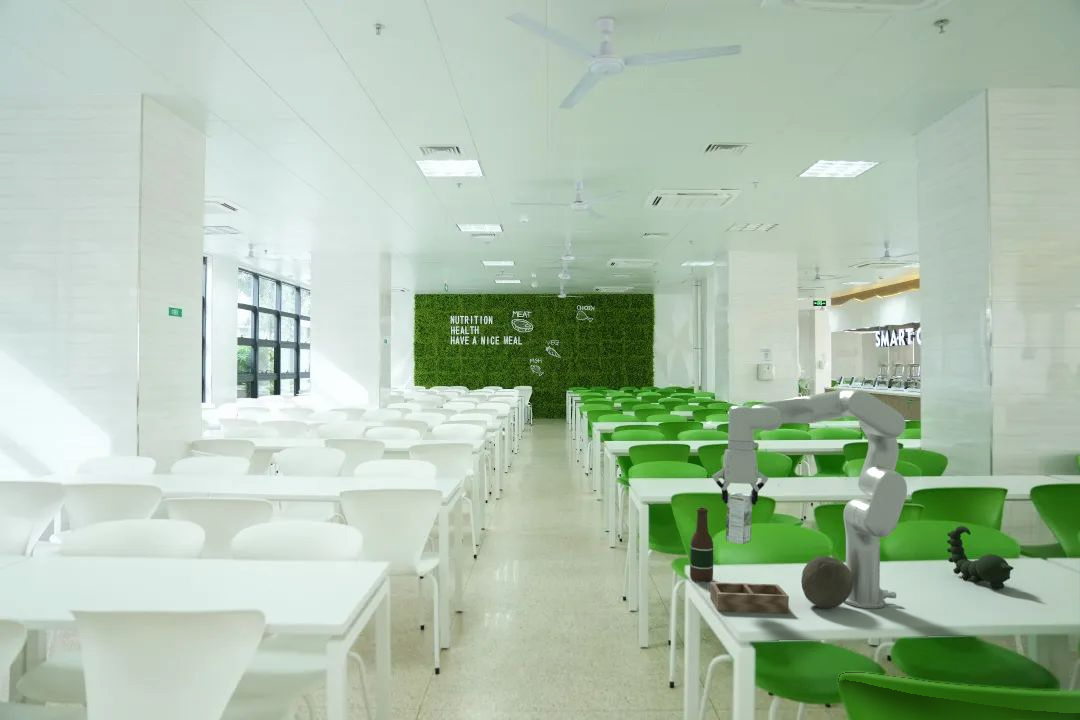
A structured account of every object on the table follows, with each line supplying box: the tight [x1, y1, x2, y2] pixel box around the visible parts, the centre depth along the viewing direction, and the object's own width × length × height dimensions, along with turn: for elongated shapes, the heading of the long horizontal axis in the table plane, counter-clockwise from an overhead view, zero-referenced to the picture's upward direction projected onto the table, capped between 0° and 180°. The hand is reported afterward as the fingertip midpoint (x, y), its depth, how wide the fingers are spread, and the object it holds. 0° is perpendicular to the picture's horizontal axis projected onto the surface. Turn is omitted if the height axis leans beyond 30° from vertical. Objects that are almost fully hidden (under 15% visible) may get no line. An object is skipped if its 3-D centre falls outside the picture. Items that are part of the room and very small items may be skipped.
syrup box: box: [725, 492, 753, 545], centre depth 208 cm, size 6×6×14 cm
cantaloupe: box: [800, 555, 853, 610], centre depth 204 cm, size 14×14×15 cm
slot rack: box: [709, 581, 790, 614], centre depth 205 cm, size 21×11×5 cm, turn 87°
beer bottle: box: [689, 507, 714, 583], centre depth 230 cm, size 8×8×24 cm
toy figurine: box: [946, 525, 1014, 591], centre depth 230 cm, size 9×19×25 cm
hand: (739, 503), depth 208 cm, fingers closed on syrup box, 7 cm apart
